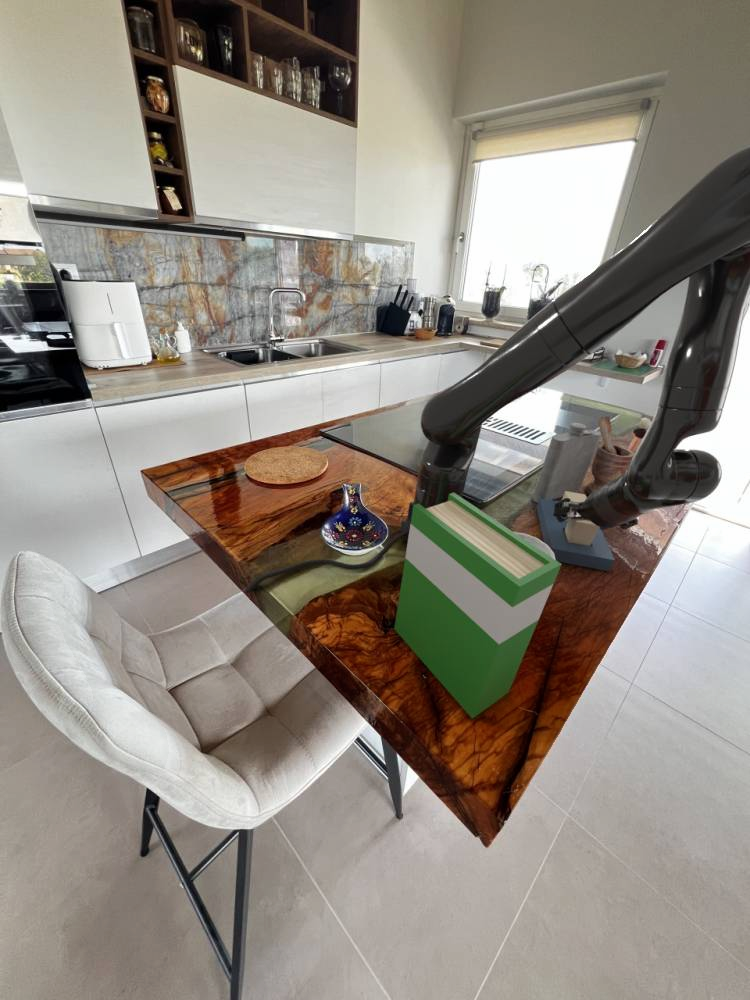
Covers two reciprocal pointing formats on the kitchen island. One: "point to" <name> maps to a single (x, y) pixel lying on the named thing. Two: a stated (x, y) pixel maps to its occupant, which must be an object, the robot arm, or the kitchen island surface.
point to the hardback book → (470, 599)
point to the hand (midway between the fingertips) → (580, 521)
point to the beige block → (580, 532)
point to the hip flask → (566, 462)
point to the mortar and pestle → (608, 459)
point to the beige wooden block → (574, 498)
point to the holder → (572, 552)
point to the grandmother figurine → (639, 434)
